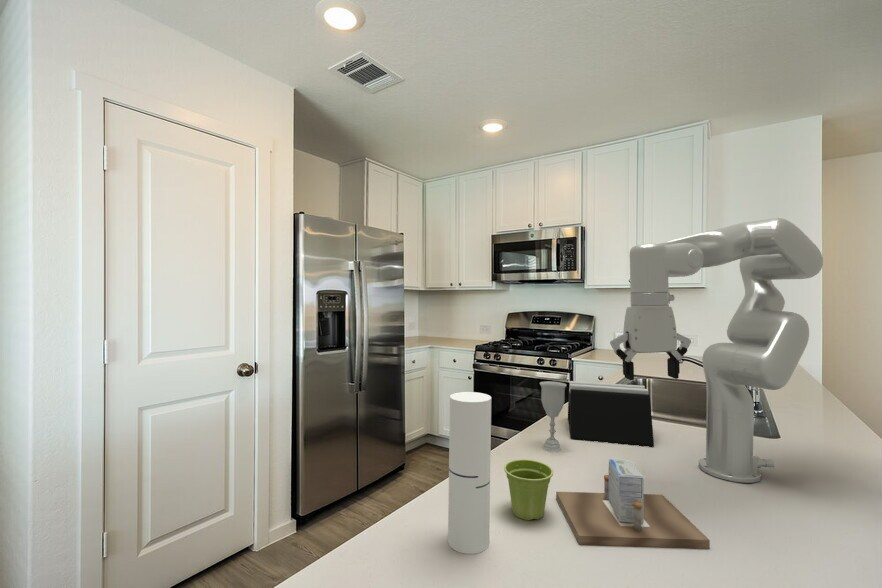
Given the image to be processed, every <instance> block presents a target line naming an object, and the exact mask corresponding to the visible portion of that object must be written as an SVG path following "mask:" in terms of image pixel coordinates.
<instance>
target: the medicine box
mask: <svg viewBox="0 0 882 588" xmlns="http://www.w3.org/2000/svg"><path fill="white" fill-rule="evenodd" d="M608 475H609V486H608V498H609V502H610V504H611V506H612V508H613V510H614V512H615V514H616V516H617V518H618V520H619V521H620V522H628V523H634V506H633V502H635V501H637V502H640V503H642V508H641V524H642V523H644V496H643V494H644V476H643V475H642V474H641V472H640V471H639V469H638V468H637V467H636V465H635V464H634V462H632V460H629V459H618V458H617V459H616V458H615V459H614V458H613V459H608Z"/></svg>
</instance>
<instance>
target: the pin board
mask: <svg viewBox="0 0 882 588" xmlns="http://www.w3.org/2000/svg"><path fill="white" fill-rule="evenodd" d="M603 479H604V487H603V488H604V490H603V492H587V491H585V492H584V491H583V492H582V491H581V492H580V491H556V493H555V494H556V495H555V500H556V501H557V504H558V506H559V507H560V509H561V511H562V513H563V516H564V517H565V519H566V521H567V523H568V525H569V527H570V529H571V532H572V533H573V536H574V538H575V539H576V542H577V543H578V545H580V546H581V545H583V546H612V547H614V546H615V547H617V546H618V547H638V548H639V547H643V548H645V547H646V548H673V549H674V548H675V549H677V548H678V549H705V550H709V549H710V546H711V545H710V541H711V540H710V539H709V538H708V536H706V535H705V534H704V533H703V532H702V531H701V530H700V529H699V528H698V527H697V526H696V525H695V524H693V522H691V520H690V519H688V518H687V517H686V516H685V515H684V513H683V512H682V511H680V509H678V508H677V507H676V506H675V505H674V504H672V502H671V501H670V500H669V499H668V498H667V497H666V496H664V495H663V494H655V493H654V494H652V493H650V494H648V493H643V496H644V523H642V524H641V508H642V503H640V502H637V501H635V502H633V506H634V523H628V522H620V521H619V520H618V518H617V516H616V514H615V512H614V510H613V508H612V506H611V504H610V502H609V498H608V486H609V474H604V476H603Z"/></svg>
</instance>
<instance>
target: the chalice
mask: <svg viewBox="0 0 882 588" xmlns="http://www.w3.org/2000/svg"><path fill="white" fill-rule="evenodd" d="M539 385H540V388H541V394H540V395H541V398H540V399H541V404H542V407H543V409H544V412H545V414H546V415H547V417H549V418H550V422H549V426H550V429H549V430H548V431H549V433H550V436H549V438H546V440H545V442H544V443H543V444H544V445H543V446H542V449H543V450H544V451H547V452H550V453H551V452H552V453H554V452H557V453H558V452H561V451H562V447H561V444H560V442H559V440H557V439H556V437H555V433H556V429H555V426H556V423H555V418H558V417H559V415H560V413H561V412H562V410H563V407H564V405H565V394H566V393H565V390H566V388H567V384H566V383H564V382H559V381H548V380H547V381H540V382H539Z"/></svg>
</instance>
